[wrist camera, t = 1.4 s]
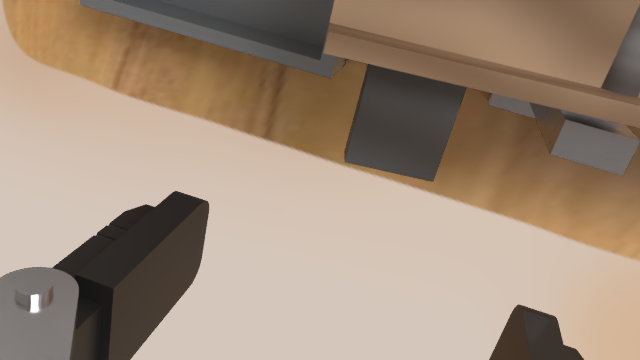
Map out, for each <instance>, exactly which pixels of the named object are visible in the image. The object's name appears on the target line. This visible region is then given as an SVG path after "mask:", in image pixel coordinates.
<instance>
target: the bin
mask: <svg viewBox="0 0 640 360" xmlns="http://www.w3.org/2000/svg"><path fill="white" fill-rule="evenodd" d="M333 3H334V0H80V5H82V6H86V7H89V8H92V9H96V10H99V11H103V12H106V13H109V14H113V15H116V16H120V17H123V18H126V19H130V20H133V21H137V22H140V23H144V24H147V25H150V26H154V27H157V28H161V29H164V30H167V31H171V32H174V33H178V34H181V35H184V36H188V37H191V38H195V39H198V40H201V41H205V42H208V43H212V44H215V45H218V46H222V47H225V48H229V49H232V50H236V51H239V52H242V53H246V54H249V55H253V56H256V57H259V58H263V59H266V60H270V61H273V62H276V63H280V64H283V65H287V66H290V67H293V68H297V69H300V70H304V71H307V72H310V73H314V74H317V75H321V76H324V77H328V78H332V77H333V76H334V75H335V74H336V73H337V72H338V71H339V70H340V69H341V68H342V67H343V66H344V65H345V62H346V58H342V57H337V56H333V55H329V54H325V53H324V46H325V39H326V35H327V30H328V26H329V21H330V16H331V12H332V7H333Z"/></svg>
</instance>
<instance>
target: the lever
mask: <svg viewBox="0 0 640 360" xmlns="http://www.w3.org/2000/svg"><path fill="white" fill-rule="evenodd" d="M324 53H325V54H329V55H333V56H337V57H342V58H346V59H350V60H354V61H358V62H363V63H367V64H368V66H367V70H366V74H365V77H364V81H363V85H362V88H361V92H360V96H359V100H358V103H357V107H356V111H355V114H354V118H353V122H352V126H351V129H350V133H349V137H348V140H347V144H346V148H345V162H347V163H351V164H356V165H360V166H365V167H369V168H374V169H378V170H382V171H387V172H391V173H396V174H400V175H405V176H409V177H414V178H418V179H423V180H427V181H431V182H433V181H434V178H435V175H436V172H437V169H438V166H439V164H440V161H441V158H442V155H443V152H444V150H445V147H446V144H447V141H448V138H449V135H450V133H451V130H452V127H453V124H454V121H455V119H456V116H457V113H458V110H459V107H460V105H461V102H462V99H463V96H464V93H465V90H466V88H467V87H468V88H472V89H477V90H481V91H485V92H489V93H494V94H498V95H502V96H506V97H510V98H515V99H519V100H523V101H527V102H532V103H536V104H540V105H544V106H548V107H553V108H557V109H561V110H565V111H570V112H574V113H578V114H582V115H586V116H591V117H595V118H599V119H603V120H607V121H612V122H616V123H620V124H624V125H629V126H633V127H637V128H640V0H334V3H333V7H332V12H331V16H330V21H329V26H328V30H327V35H326V39H325V46H324Z"/></svg>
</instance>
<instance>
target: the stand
mask: <svg viewBox="0 0 640 360" xmlns="http://www.w3.org/2000/svg"><path fill="white" fill-rule="evenodd" d="M488 105H490V106H493V107H497V108H500V109H504V110H507V111H510V112H514V113H517V114H521V115H524V116H528V117H531V118H535V119H536V121H537V123H538V126H539V128H540V131H541V133H542V135H543V138H544V140H545V143H546V145H547V148H548V150H549V153H550V155H553V156H557V157H560V158H563V159H567V160H570V161H574V162H577V163H580V164H584V165H587V166H590V167H594V168H597V169H601V170H604V171H607V172H611V173H614V174H617V175H621V176H623V174H624V172H625V170H626V168H627V166H628V164H629V162H630V160H631V159H632V157H633V155H634V153H635V151H636V149H637V147H638V145H639V143H640V140H639V139H638V137H637V136H636V135H635V134H634V133H633V132H632V131H631V130H630V129H629V127H628V126H627V125H624V124H620V123H616V122H612V121H607V120H603V119H599V118H595V117H591V116H586V115H582V114H578V113H574V112H570V111H565V110H561V109H557V108H553V107H548V106H544V105H540V104H536V103H532V102H527V101H523V100H519V99H515V98H510V97H506V96H502V95H498V94H494V93H490V96H489V99H488Z"/></svg>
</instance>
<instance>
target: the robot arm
mask: <svg viewBox="0 0 640 360" xmlns="http://www.w3.org/2000/svg"><path fill="white" fill-rule="evenodd" d="M208 214H209V203H208V201H205V200H202V199H199V198H196V197H193V196H190V195H187V194H184V193H181V192H178V191H175V192H173V193H172V194H170V195H169V196H168V197H167V198H166V199H164V200H163V201H162V202H161V203H160V204H158V205H157V206H156V207H153V206H150V205H143V206H140V207H137V208H134V209H131V210H128V211H125V212H123V213H122V214H121V215H120V216H118V217H117V218H116V219H114V220H113V221H112V222H111V223H110V224H109V226H105V227H104V228H103V229H102V230H100V231H99V232H98V233H97V235H96V236H93V237H91V238H90V239H89V240H87V241H86V242H85V243H84V244H82V245H81V246H80V247H79V248H77V249H76V250H75V251H73V252H72V253H71V254H69V255H68V256H67V257H65V258H64V259H63V260H62V261H60V262H59V263H58V264H56V265H55V266H54V267H53V268H45V267H32V268H26V269H20V270H16V271H13V272H11V273H9V274H6V275H4V276H2V277H1V278H0V360H130V359H131V358H132V357H133V355H134V354H135V353H136V352H137V351H138V349H139V348H140V347H141V346H142V344H143V343H144V342H145V341H146V340H147V338H148V337H149V336H150V335H151V333H152V332H153V331H154V330H155V328H156V327H157V326H158V325H159V323H160V322H161V321H162V320H163V318H164V317H165V316H166V315H167V314H168V312H169V311H170V310H171V308H172V307H173V306H174V305H175V304H176V303H177V301H178V300H179V299H180V298H181V296H182V295H183V294H184V293H185V291H186V290H187V289H188V288H189V286H190V285H191V284H192V282H193V281H194V279H195V277H196V274H197V272H198V269H199V266H200V263H201V258H202V253H203V246H204V239H205V233H206V227H207V220H208ZM489 360H584V359H583V358H582V356H581V355H580V354H579V352H578V351H577V350H576V349H574V348H571V347H568V346H565V345H563V341H562V337H561V333H560V328H559V325H558V321H557V318H556V317H555V316H552V315H549V314H546V313H543V312H540V311H537V310H534V309H531V308H528V307H525V306H522V305H517V306H516V307H515V308H514V310H513V311H512V313H511V315H510V318H509V319H508V322H507V324H506V326H505V328H504V330H503V332H502V334H501V336H500V339H499V340H498V342H497V345H496V347H495V349H494V351H493V353H492V355H491V357H490V359H489Z"/></svg>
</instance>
